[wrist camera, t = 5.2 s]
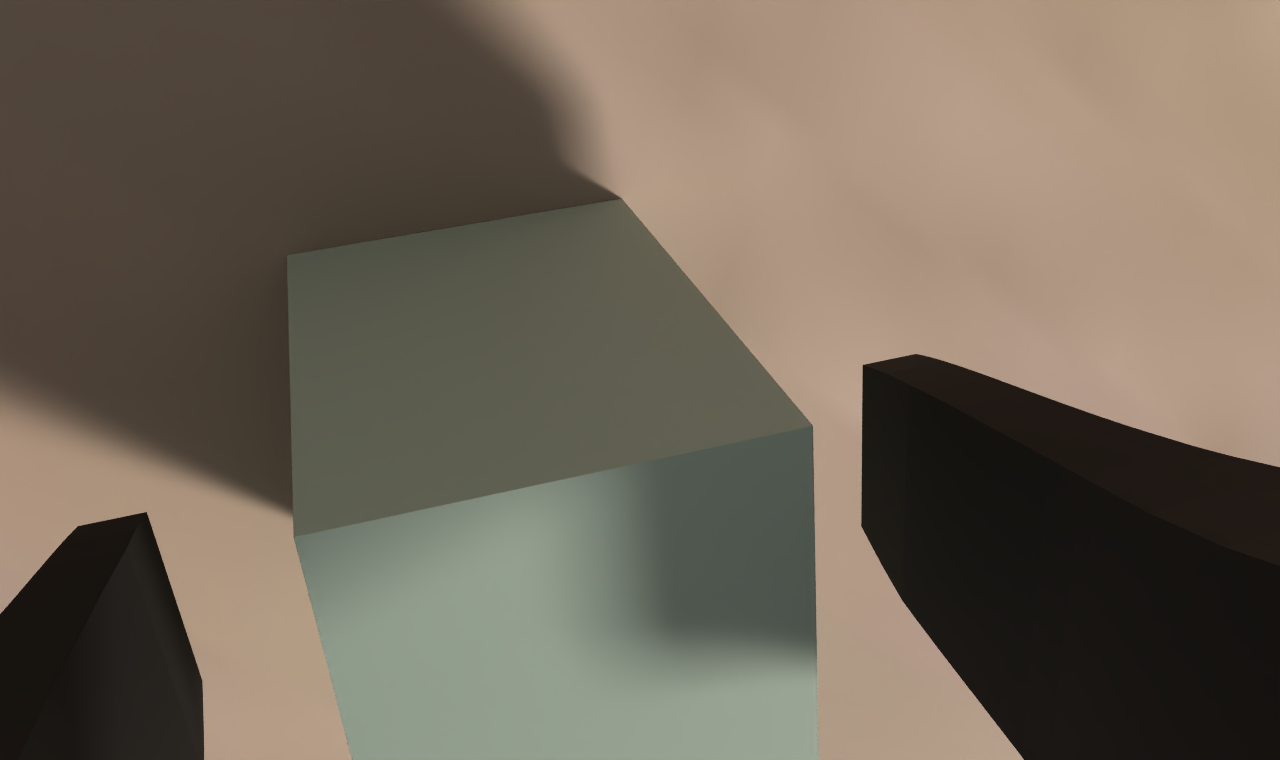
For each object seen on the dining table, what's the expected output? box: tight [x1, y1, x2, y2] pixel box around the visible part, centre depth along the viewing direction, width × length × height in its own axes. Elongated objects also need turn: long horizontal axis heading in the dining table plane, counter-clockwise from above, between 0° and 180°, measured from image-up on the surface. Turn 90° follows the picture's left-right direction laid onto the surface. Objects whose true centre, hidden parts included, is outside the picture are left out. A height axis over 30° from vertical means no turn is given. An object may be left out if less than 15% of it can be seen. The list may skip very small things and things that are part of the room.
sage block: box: [287, 199, 819, 760], centre depth 13 cm, size 4×4×6 cm
